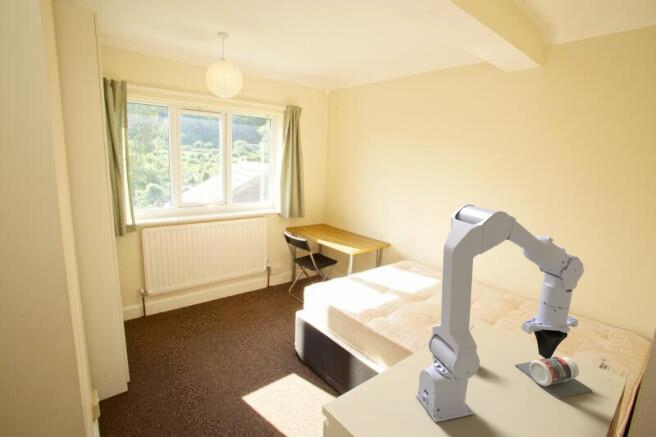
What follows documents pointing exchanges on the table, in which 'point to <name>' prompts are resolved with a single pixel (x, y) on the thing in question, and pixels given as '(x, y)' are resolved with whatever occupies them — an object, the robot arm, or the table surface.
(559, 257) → the robot arm
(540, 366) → the pill bottle
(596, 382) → the table surface
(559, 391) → the mat
